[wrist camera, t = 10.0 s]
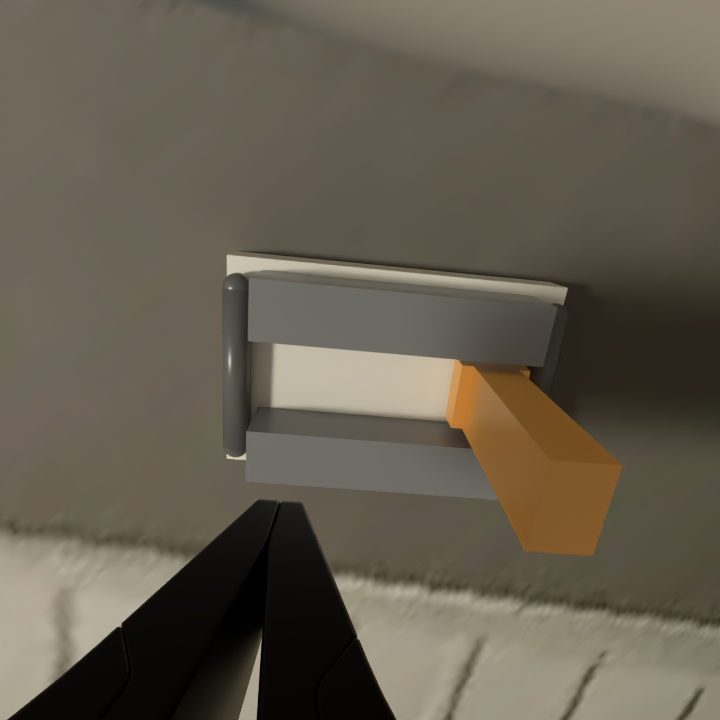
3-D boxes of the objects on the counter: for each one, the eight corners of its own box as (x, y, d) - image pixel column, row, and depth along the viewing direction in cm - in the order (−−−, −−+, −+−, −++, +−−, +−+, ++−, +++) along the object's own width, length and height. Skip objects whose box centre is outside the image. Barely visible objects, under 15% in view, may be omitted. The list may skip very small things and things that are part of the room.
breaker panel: (549, 282, 17) (598, 298, 13) (507, 461, 19) (539, 512, 16) (237, 251, 16) (208, 260, 13) (236, 440, 19) (211, 488, 15)
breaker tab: (520, 361, 16) (640, 467, 9) (506, 420, 17) (609, 556, 10) (455, 356, 16) (531, 458, 9) (445, 415, 16) (507, 550, 10)
